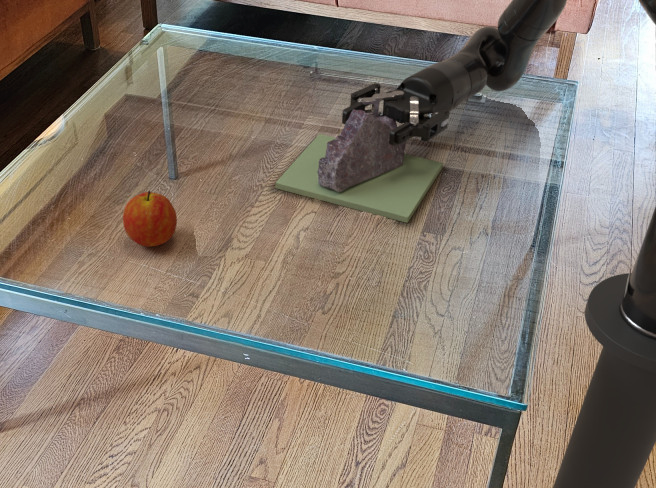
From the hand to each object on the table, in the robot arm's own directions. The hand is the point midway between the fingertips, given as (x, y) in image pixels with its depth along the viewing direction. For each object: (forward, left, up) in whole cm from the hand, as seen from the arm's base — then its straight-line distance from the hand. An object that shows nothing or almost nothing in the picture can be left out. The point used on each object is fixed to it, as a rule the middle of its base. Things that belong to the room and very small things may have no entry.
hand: (367, 128), depth 118 cm
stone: (+1, 0, -7) cm, 7 cm away
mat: (0, +1, -8) cm, 8 cm away
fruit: (+19, +28, -8) cm, 35 cm away
